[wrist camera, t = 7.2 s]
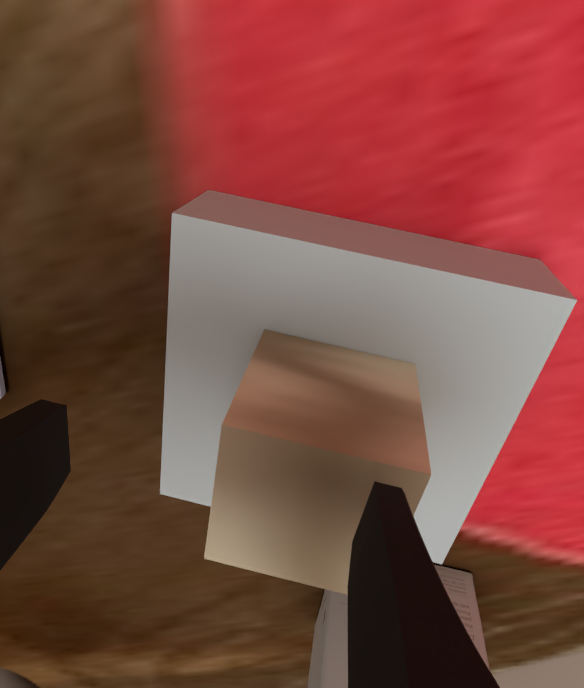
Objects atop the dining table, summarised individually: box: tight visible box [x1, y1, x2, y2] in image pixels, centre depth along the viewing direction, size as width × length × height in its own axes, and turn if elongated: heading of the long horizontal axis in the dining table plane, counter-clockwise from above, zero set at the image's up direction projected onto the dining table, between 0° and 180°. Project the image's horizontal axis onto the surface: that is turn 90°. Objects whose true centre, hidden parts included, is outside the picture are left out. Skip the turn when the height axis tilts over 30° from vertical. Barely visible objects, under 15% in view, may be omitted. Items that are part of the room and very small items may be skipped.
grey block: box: [160, 190, 577, 564], centre depth 19 cm, size 12×12×4 cm
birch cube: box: [204, 329, 431, 595], centre depth 15 cm, size 5×5×5 cm
